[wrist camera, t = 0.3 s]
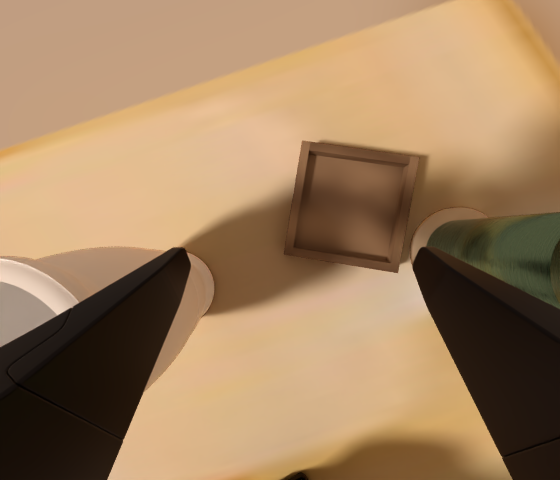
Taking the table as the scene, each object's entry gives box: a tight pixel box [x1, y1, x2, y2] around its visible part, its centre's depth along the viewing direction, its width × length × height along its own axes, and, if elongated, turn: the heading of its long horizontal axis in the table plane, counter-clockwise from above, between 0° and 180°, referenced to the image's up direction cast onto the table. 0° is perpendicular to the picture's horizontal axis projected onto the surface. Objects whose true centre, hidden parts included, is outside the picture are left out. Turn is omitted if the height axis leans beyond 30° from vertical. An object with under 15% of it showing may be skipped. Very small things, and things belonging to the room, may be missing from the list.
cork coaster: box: [410, 207, 489, 266], centre depth 22 cm, size 9×9×1 cm
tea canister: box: [426, 212, 560, 309], centre depth 15 cm, size 7×7×12 cm
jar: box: [0, 247, 214, 391], centre depth 16 cm, size 11×10×15 cm
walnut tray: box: [284, 141, 419, 273], centre depth 21 cm, size 11×11×2 cm
